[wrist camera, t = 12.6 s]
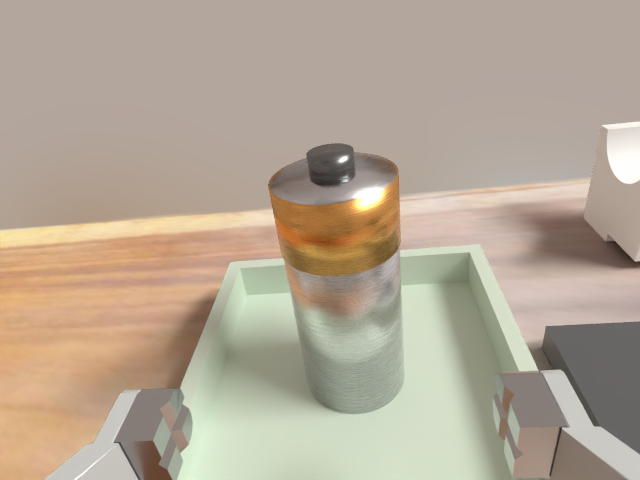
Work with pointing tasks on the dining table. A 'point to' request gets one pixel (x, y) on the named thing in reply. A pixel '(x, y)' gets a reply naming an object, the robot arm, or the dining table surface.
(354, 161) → the battery cell
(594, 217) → the bracket
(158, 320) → the dining table surface
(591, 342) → the block
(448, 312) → the tray
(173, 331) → the dining table surface
